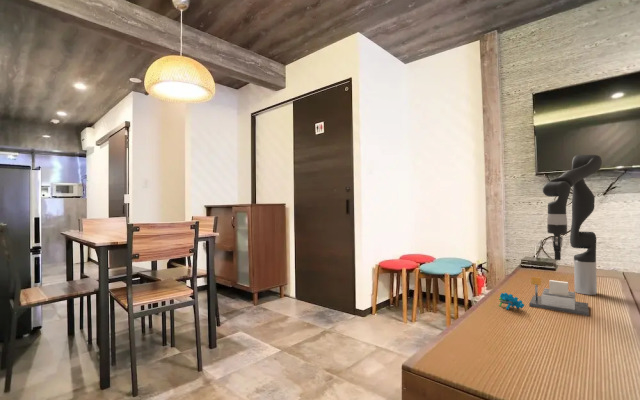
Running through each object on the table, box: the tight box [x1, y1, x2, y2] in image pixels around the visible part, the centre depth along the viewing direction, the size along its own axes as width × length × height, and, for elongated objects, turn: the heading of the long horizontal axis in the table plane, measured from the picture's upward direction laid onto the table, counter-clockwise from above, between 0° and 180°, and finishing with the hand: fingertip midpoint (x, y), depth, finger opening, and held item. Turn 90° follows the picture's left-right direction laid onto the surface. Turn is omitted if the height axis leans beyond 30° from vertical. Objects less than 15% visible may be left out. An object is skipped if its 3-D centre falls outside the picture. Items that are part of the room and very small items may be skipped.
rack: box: [528, 276, 590, 317], centre depth 148 cm, size 17×21×12 cm
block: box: [548, 279, 569, 296], centre depth 148 cm, size 2×7×10 cm, turn 50°
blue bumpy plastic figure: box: [498, 292, 525, 311], centre depth 144 cm, size 11×6×10 cm
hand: (557, 259), depth 150 cm, fingers closed
